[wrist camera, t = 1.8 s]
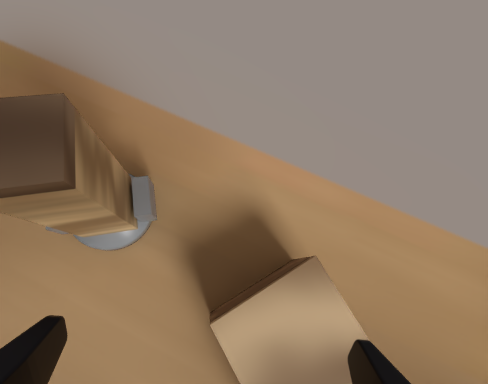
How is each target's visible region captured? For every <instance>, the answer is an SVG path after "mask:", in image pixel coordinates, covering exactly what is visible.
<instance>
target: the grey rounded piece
mask: <svg viewBox="0 0 488 384" xmlns="http://www.w3.org/2000/svg"><path fill="white" fill-rule="evenodd" d="M129 176H130V177H131V180H132V193H133V207H134V217H135V218H137V222H138V229H136V230H129V231H123V232H116V233H110V234H103V235H97V236H90V237H80V236H77V235H74V234H73V235H74V236H75V237H76V238H77V239H78V240H79V241H80V242H82V243H83V244H85V245H87V246H89V247H92V248H96V249H100V250H118V249H122V248H125V247H128V246H130V245H132V244H133V243H135V242H136V241H138V240H139V239H140V238H141V237H142V236H143V235H144V234H145V233H146V231H147V230H148V228H149V226H150V224H151V222H152V221H154V220H157V215H156V204H155V194H154V185H153V183H152V182H151V180H150V178H149V177H148V176H142V177H135V176H133V175H131V174H129ZM46 230H49V231H52V232H56V233H59V234H68V233H67V232H64V231H60V230H57V229H54V228H50V227H47V226H46Z"/></svg>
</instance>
